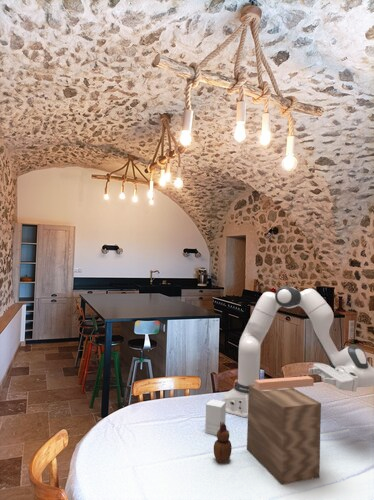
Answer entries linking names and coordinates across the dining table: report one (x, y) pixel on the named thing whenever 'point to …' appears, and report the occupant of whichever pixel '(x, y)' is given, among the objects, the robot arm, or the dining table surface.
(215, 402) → the supplement box
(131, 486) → the dining table surface
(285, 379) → the terracotta bar
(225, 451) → the wooden figurine
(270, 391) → the walnut pedestal
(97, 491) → the dining table surface
